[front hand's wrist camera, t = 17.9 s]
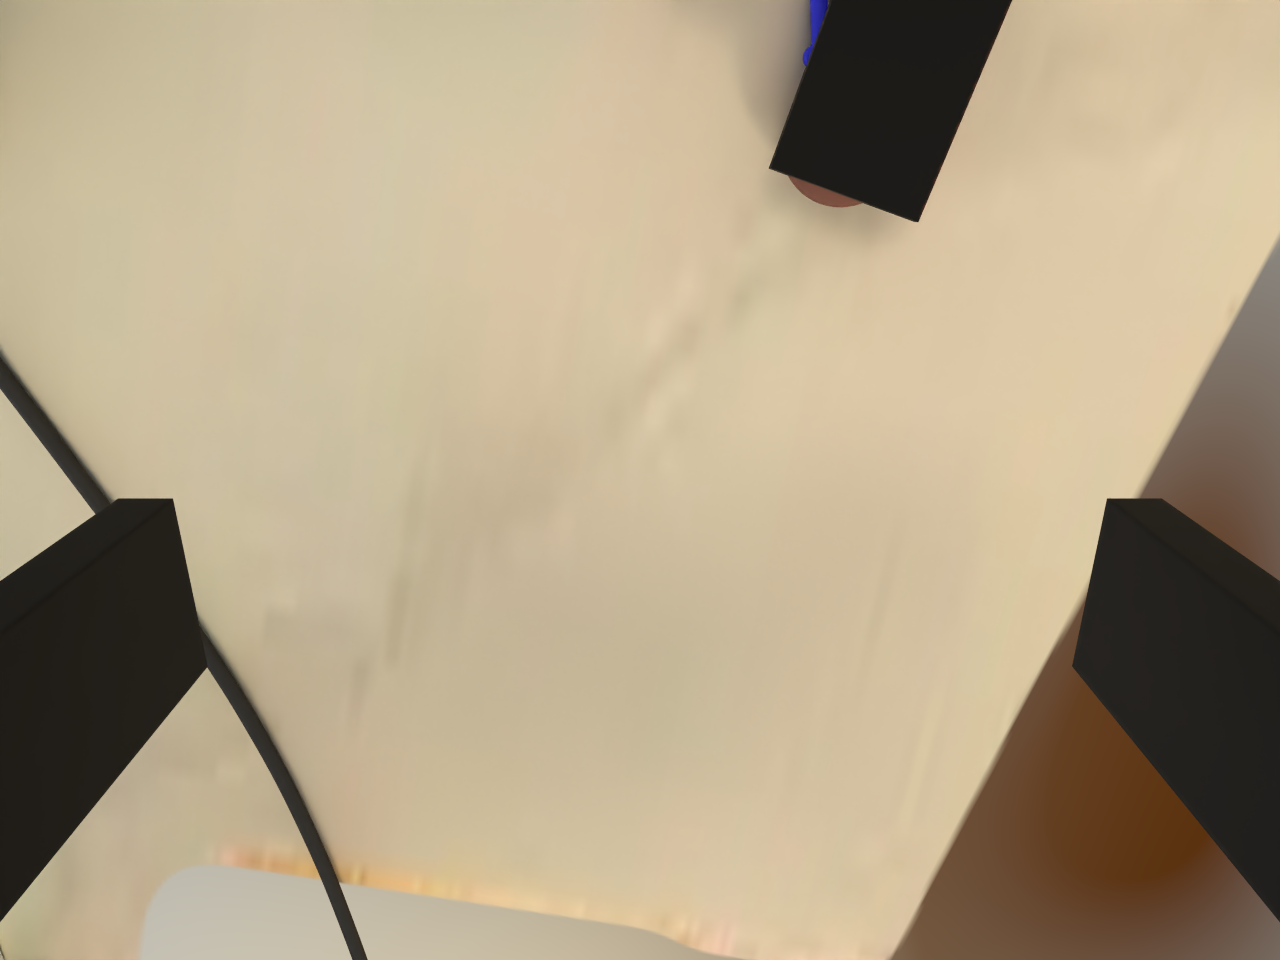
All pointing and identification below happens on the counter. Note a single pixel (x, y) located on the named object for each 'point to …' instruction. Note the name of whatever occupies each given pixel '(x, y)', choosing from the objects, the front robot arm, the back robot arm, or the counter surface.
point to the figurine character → (883, 98)
